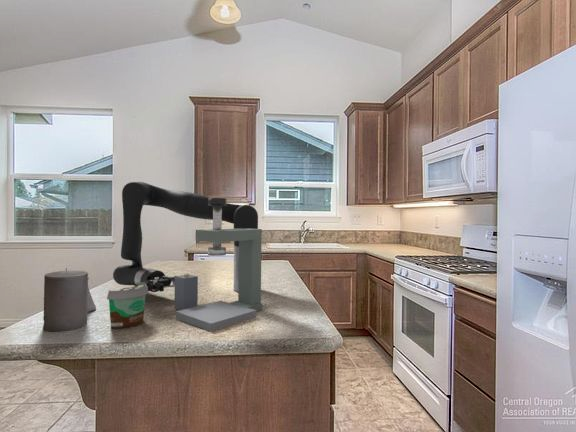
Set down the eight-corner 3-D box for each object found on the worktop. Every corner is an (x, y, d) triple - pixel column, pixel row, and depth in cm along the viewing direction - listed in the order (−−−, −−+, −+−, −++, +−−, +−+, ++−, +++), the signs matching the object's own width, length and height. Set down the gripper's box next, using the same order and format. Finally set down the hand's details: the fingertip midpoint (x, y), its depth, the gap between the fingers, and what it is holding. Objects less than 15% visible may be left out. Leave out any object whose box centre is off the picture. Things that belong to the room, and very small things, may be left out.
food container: (128, 333, 83) (128, 292, 83) (106, 331, 84) (107, 291, 84) (157, 318, 95) (157, 282, 95) (138, 316, 96) (138, 281, 96)
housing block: (188, 305, 109) (188, 271, 109) (197, 308, 106) (197, 273, 106) (174, 308, 105) (174, 273, 105) (183, 311, 102) (183, 275, 102)
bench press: (237, 302, 113) (237, 228, 113) (272, 311, 102) (273, 229, 102) (175, 318, 95) (176, 229, 95) (210, 331, 85) (211, 232, 85)
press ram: (218, 253, 99) (218, 199, 99) (229, 254, 96) (230, 198, 96) (204, 254, 96) (204, 198, 96) (215, 256, 92) (215, 197, 92)
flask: (65, 310, 102) (65, 277, 102) (91, 305, 107) (92, 274, 107) (72, 315, 97) (72, 280, 97) (100, 310, 102) (100, 277, 102)
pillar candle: (33, 330, 84) (34, 270, 84) (64, 318, 94) (65, 264, 94) (67, 333, 83) (68, 272, 83) (96, 321, 92) (97, 266, 92)
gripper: (130, 271, 115) (154, 277, 104) (168, 266, 125) (193, 271, 115) (129, 293, 115) (154, 301, 104) (168, 287, 125) (193, 293, 115)
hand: (175, 286), depth 110 cm, fingers open, 8 cm apart
